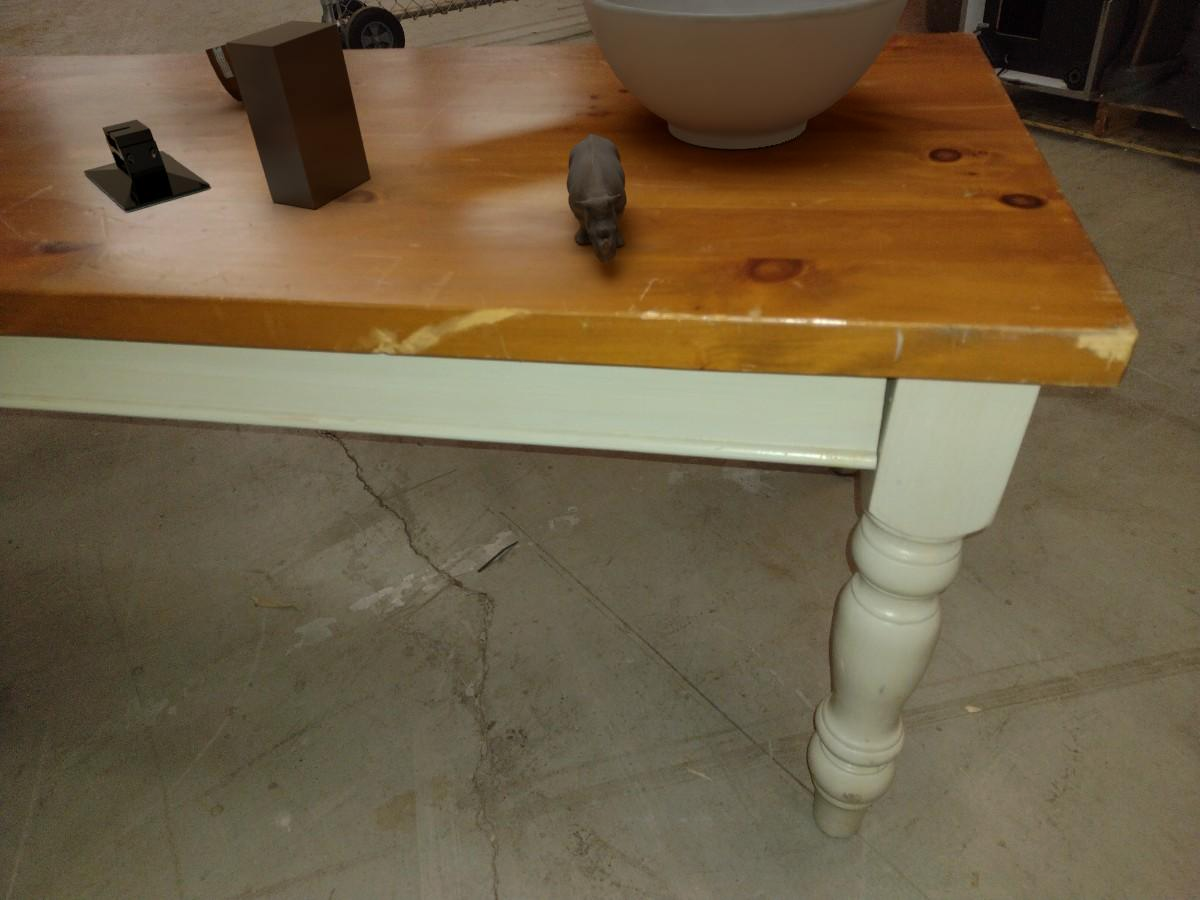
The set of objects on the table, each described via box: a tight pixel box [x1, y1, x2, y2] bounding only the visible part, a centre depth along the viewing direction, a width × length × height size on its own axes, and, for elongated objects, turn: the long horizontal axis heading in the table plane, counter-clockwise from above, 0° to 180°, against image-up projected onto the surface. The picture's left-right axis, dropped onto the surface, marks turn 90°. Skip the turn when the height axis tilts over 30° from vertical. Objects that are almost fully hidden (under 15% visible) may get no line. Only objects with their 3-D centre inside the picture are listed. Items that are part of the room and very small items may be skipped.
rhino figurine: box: [566, 133, 628, 264], centre depth 59 cm, size 4×14×6 cm, turn 2°
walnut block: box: [225, 20, 371, 210], centre depth 68 cm, size 4×7×12 cm, turn 154°
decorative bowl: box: [581, 0, 909, 150], centre depth 75 cm, size 27×27×12 cm
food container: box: [205, 43, 243, 103], centre depth 92 cm, size 12×6×10 cm
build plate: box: [83, 119, 211, 213], centre depth 74 cm, size 12×7×5 cm, turn 40°
